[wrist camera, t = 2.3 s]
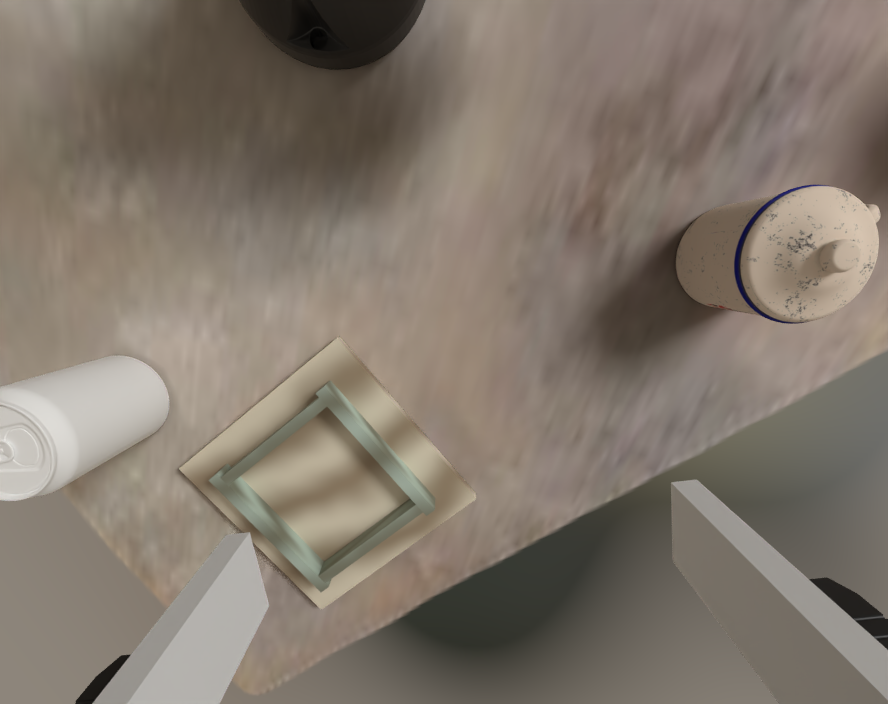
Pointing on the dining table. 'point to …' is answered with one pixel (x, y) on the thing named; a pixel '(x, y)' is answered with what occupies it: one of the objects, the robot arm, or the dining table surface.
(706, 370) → the dining table surface
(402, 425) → the board
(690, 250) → the teacup with lid
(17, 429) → the beverage can
